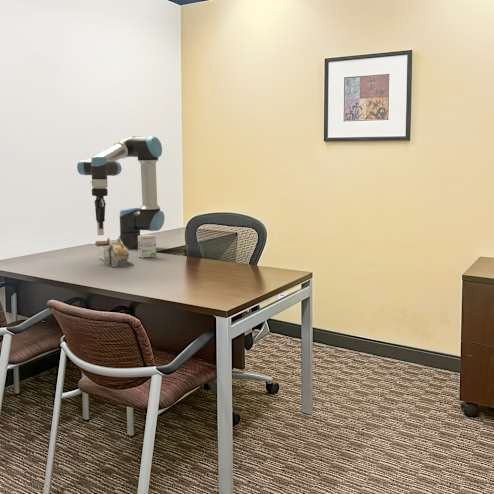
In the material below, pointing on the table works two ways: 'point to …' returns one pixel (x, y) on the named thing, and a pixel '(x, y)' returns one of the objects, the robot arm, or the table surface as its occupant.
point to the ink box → (147, 246)
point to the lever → (114, 248)
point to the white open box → (105, 254)
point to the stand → (117, 262)
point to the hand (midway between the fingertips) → (100, 235)
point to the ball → (121, 250)
